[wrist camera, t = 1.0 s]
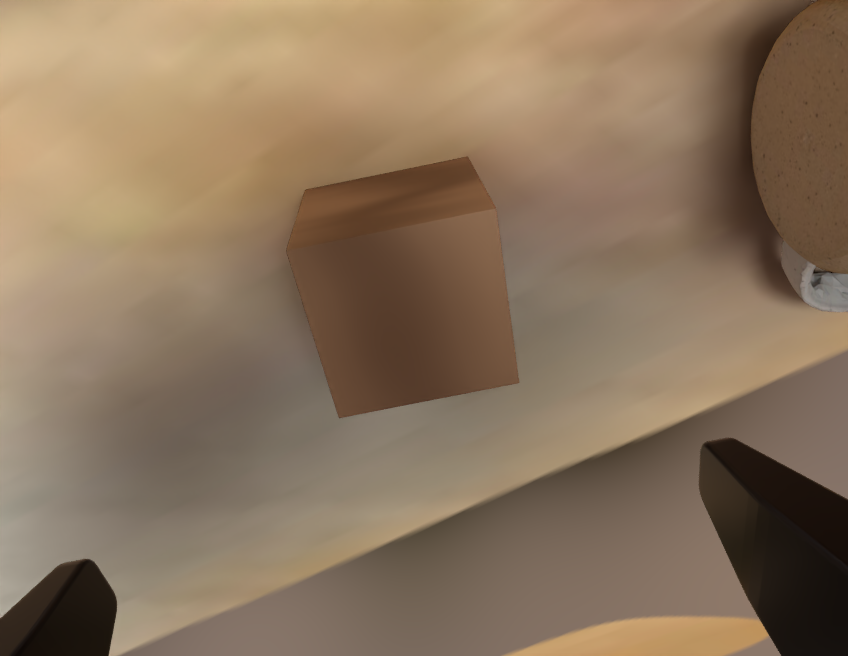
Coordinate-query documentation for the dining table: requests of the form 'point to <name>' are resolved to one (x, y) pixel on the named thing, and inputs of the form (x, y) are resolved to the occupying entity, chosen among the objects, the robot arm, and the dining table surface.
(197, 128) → the dining table surface
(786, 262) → the ceramic mug
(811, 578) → the robot arm
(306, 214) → the walnut cube
